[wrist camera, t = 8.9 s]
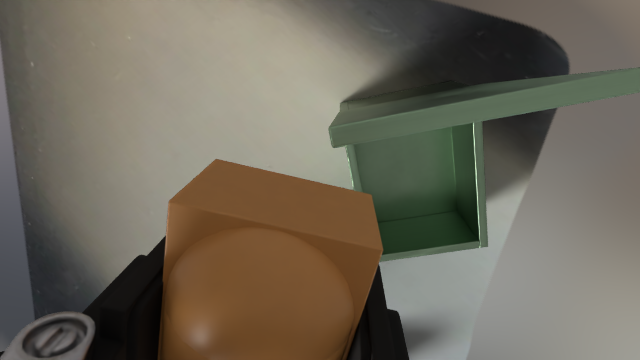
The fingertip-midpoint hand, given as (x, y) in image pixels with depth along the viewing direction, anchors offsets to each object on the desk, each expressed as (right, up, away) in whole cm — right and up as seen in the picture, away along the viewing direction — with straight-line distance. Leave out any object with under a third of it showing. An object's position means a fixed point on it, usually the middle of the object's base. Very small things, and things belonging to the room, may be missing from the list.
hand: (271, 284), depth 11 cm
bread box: (+10, +5, +24) cm, 26 cm away
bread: (0, 0, 0) cm, 0 cm away
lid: (+8, +7, +8) cm, 13 cm away
